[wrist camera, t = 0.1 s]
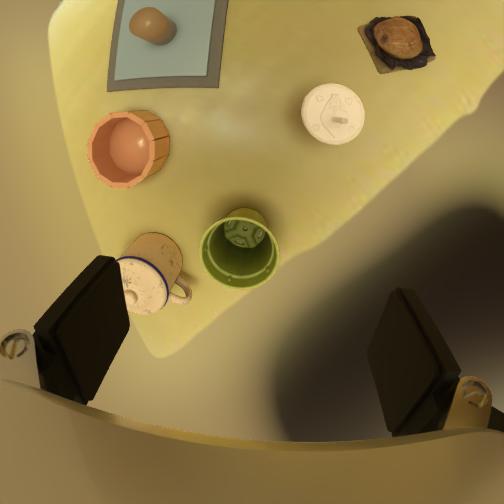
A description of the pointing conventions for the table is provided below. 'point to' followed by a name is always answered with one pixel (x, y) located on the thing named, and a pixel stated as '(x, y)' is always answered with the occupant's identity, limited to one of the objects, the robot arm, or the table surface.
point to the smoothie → (332, 114)
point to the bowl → (127, 147)
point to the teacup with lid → (152, 274)
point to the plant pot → (239, 251)
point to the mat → (176, 81)
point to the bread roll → (397, 43)
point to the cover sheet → (173, 53)
